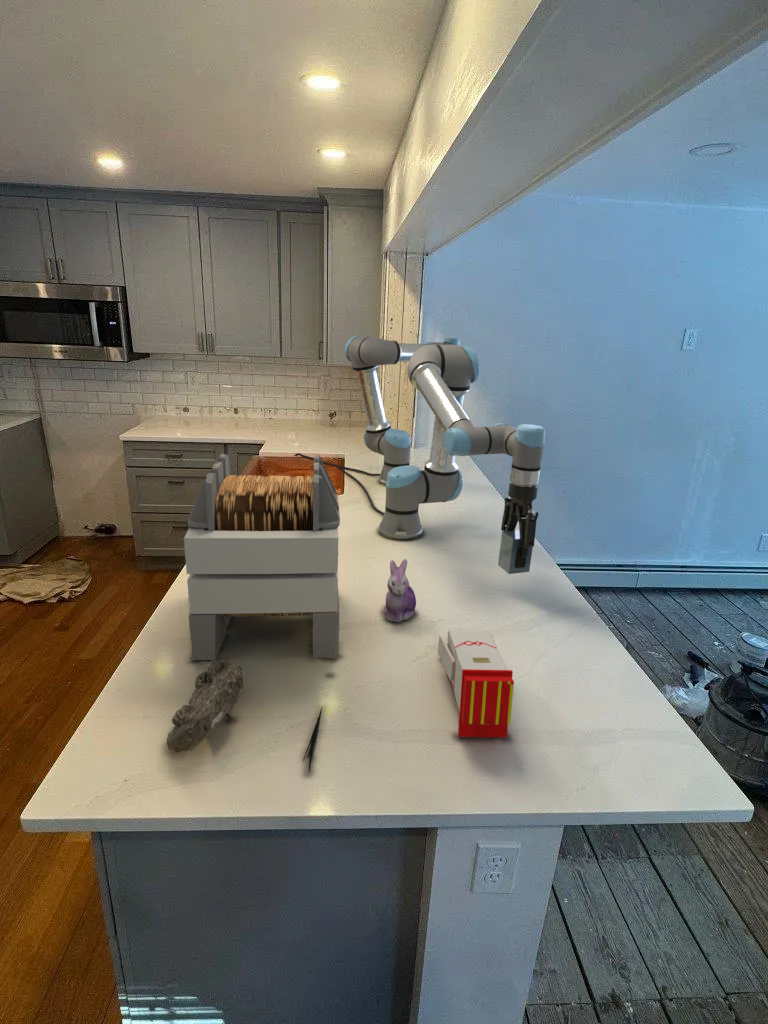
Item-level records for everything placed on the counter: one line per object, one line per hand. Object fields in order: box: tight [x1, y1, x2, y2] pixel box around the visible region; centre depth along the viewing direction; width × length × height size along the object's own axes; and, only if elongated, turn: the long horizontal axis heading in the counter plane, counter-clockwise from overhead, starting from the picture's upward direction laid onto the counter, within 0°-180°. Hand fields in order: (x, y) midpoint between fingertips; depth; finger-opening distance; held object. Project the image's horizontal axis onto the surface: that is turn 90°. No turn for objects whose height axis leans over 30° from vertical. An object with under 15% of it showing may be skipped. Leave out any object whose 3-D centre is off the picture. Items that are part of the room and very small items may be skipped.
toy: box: [437, 628, 515, 738], centre depth 117 cm, size 12×13×30 cm
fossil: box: [166, 658, 245, 754], centre depth 106 cm, size 22×10×15 cm
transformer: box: [183, 453, 341, 662], centre depth 134 cm, size 34×33×41 cm
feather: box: [301, 673, 332, 771], centre depth 108 cm, size 2×28×2 cm
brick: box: [497, 529, 534, 575], centre depth 158 cm, size 6×6×10 cm
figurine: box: [384, 558, 417, 623], centre depth 145 cm, size 9×10×15 cm
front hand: (513, 561), depth 159 cm, fingers closed on brick, 6 cm apart
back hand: (446, 415), depth 280 cm, fingers open, 13 cm apart
